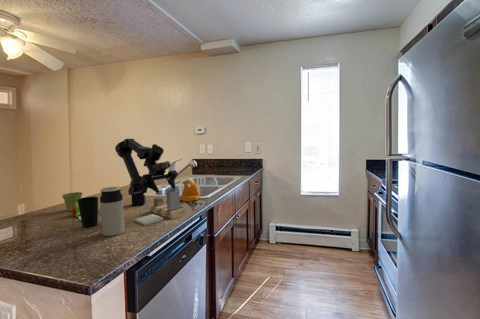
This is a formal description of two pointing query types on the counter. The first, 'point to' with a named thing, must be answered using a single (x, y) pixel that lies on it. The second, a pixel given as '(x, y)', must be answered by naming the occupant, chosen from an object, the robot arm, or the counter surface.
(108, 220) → the travel mug
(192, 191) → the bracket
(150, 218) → the sage mat
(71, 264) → the counter surface
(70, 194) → the plant pot
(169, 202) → the lever cap
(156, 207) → the body
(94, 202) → the cup
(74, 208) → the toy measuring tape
